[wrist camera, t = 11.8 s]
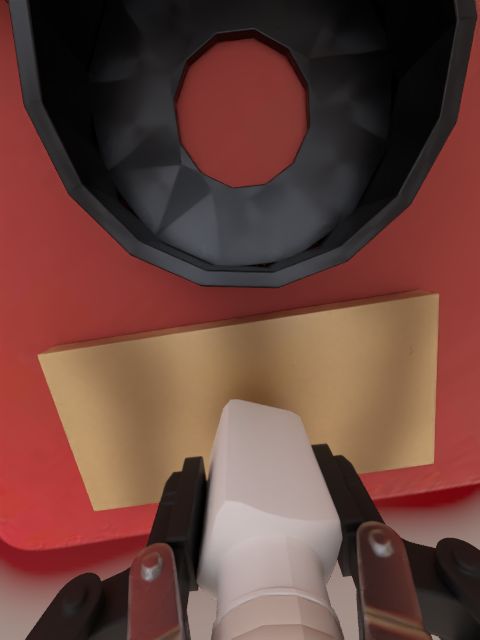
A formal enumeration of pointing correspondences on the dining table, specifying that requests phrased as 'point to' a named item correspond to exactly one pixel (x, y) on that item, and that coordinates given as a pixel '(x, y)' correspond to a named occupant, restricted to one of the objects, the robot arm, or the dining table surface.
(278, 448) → the pepper shaker
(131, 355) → the board
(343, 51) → the pan
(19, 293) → the dining table surface
